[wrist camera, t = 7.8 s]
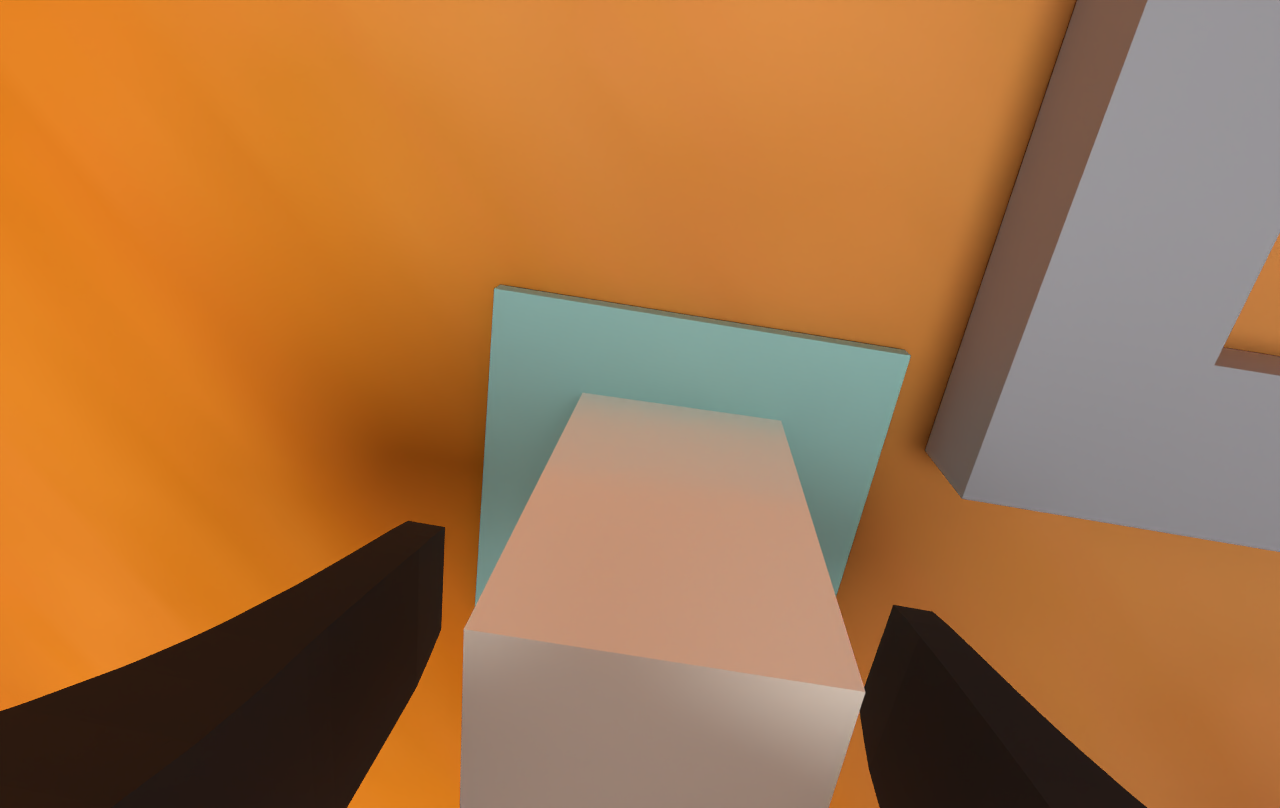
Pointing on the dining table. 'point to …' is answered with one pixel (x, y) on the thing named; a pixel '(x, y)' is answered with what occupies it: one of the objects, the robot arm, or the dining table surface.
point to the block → (659, 626)
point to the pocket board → (1133, 284)
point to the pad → (681, 398)
